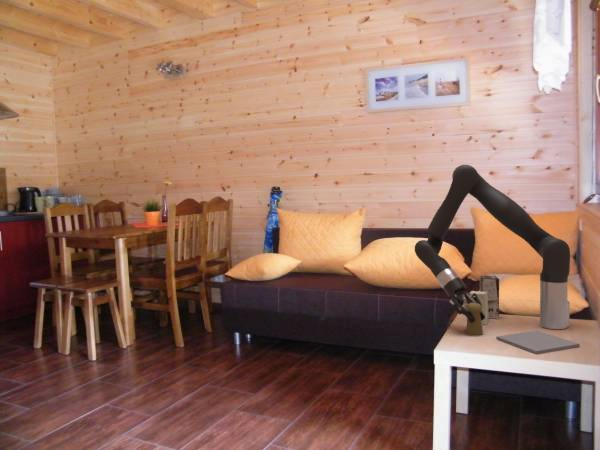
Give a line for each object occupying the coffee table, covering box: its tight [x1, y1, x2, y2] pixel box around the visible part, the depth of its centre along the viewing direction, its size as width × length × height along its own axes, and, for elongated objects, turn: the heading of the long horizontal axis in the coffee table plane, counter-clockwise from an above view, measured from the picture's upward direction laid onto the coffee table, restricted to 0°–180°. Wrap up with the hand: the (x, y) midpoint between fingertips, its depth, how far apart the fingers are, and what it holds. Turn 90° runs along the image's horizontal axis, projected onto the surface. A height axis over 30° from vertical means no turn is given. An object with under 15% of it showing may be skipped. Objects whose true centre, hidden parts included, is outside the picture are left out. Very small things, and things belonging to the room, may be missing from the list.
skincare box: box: [469, 290, 489, 326], centre depth 201 cm, size 6×4×12 cm
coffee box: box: [479, 275, 500, 320], centre depth 211 cm, size 9×6×16 cm
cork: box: [465, 303, 484, 337], centre depth 187 cm, size 6×6×11 cm
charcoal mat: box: [495, 329, 580, 355], centre depth 174 cm, size 18×18×1 cm
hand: (478, 320), depth 186 cm, fingers closed on cork, 5 cm apart
